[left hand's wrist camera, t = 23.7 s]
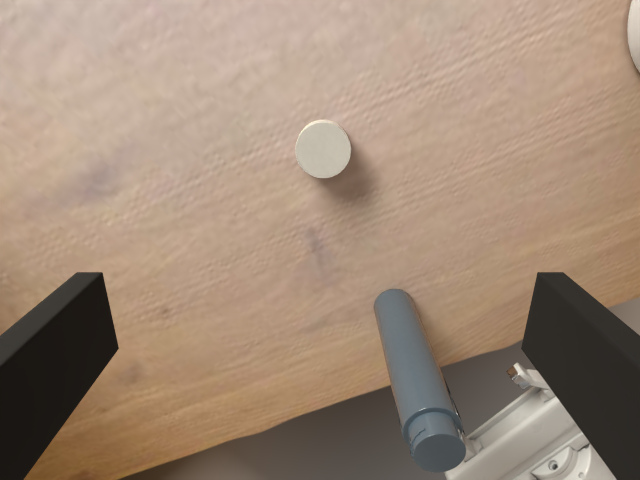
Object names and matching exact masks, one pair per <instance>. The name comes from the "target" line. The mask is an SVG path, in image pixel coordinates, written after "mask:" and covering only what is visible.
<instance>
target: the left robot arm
mask: <svg viewBox="0 0 640 480" xmlns="http://www.w3.org/2000/svg"><path fill="white" fill-rule="evenodd" d="M118 349H119V348H118V343H117V338H116V334H115V329H114V324H113V320H112V315H111V310H110V306H109V301H108V297H107V292H106V287H105V283H104V278H103V273H102V272H77V273H76V274H74V275H73V276H72V277H71V278H70V279H68V280H67V281H66V282H65V283H64V284H62V285H61V286H60V287H59V288H57V289H56V290H55V291H54V292H53V293H51V294H50V295H49V296H48V297H47V298H45V299H44V300H43V301H42V302H41V303H39V304H38V305H37V306H36V307H34V308H33V309H32V310H31V311H30V312H28V313H27V314H26V315H25V316H24V317H22V318H21V319H20V320H19V321H18V322H16V323H15V324H14V325H13V326H11V327H10V328H9V329H8V330H7V331H5V332H4V333H3V334H2V335H1V336H0V480H23V479H24V478H25V477H26V475H27V474H28V472H29V471H30V470H31V468H32V467H33V466H34V464H35V463H36V461H37V460H38V459H39V457H40V456H41V455H42V453H43V452H44V450H45V449H46V448H47V446H48V445H49V444H50V442H51V441H52V439H53V438H54V437H55V435H56V434H57V433H58V431H59V430H60V428H61V427H62V426H63V424H64V423H65V422H66V420H67V419H68V417H69V416H70V415H71V413H72V412H73V411H74V409H75V408H76V406H77V405H78V404H79V402H80V401H81V400H82V398H83V397H84V395H85V394H86V393H87V391H88V390H89V389H90V387H91V386H92V384H93V383H94V382H95V380H96V379H97V378H98V376H99V375H100V373H101V372H102V371H103V369H104V368H105V367H106V365H107V364H108V362H109V361H110V360H111V358H112V357H113V356H114V354H115V353H116V352H117V350H118ZM521 349H522V350H523V352H524V353H525V354H526V356H527V357H528V358H529V360H530V361H531V362H532V364H533V365H534V367H535V368H536V369H537V371H538V372H539V374H540V375H541V376H542V378H543V379H544V380H545V382H546V383H547V384H548V386H549V387H550V389H551V390H552V391H553V393H554V394H555V395H556V397H557V398H558V400H559V401H560V402H561V404H562V405H563V406H564V408H565V409H566V411H567V412H568V413H569V415H570V416H571V417H572V419H573V420H574V422H575V423H576V424H577V426H578V427H579V428H580V430H581V431H582V433H583V434H584V435H585V437H586V438H587V439H588V441H589V442H590V444H591V445H592V446H593V448H594V449H595V450H596V452H597V453H598V455H599V456H600V457H601V459H602V460H603V461H604V463H605V464H606V466H607V467H608V468H609V470H610V471H611V472H612V474H613V475H614V477H615V478H616V479H617V480H640V336H639V335H638V334H637V333H636V332H635V331H633V330H632V329H631V328H630V327H628V326H627V325H626V324H625V323H624V322H622V321H621V320H620V319H619V318H618V317H616V316H615V315H614V314H613V313H612V312H610V311H609V310H608V309H607V308H606V307H604V306H603V305H602V304H601V303H599V302H598V301H597V300H596V299H595V298H593V297H592V296H591V295H590V294H589V293H587V292H586V291H585V290H584V289H583V288H581V287H580V286H579V285H578V284H576V283H575V282H574V281H573V280H572V279H570V278H569V277H568V276H567V275H566V274H564V273H563V272H538V273H537V278H536V283H535V287H534V292H533V297H532V301H531V306H530V310H529V315H528V320H527V324H526V329H525V334H524V338H523V343H522V348H521Z"/></svg>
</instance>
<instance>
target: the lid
mask: <svg viewBox="0 0 640 480" xmlns="http://www.w3.org/2000/svg"><path fill="white" fill-rule="evenodd" d="M295 152H296V158H297V161H298V163H299V165H300V166H301V168H302V169H303V170H304V171H305V172H306V173H308V174H309V175H311V176H313V177H317V178H330V177H333V176H335V175H337V174H339V173H340V172H341V171H343V169H344V168H345V167H346V166H347V164H348V162H349V160H350V156H351V144H350V141H349V138H348V136H347V134H346V132H345V131H344V129H343V128H342V127H341V126H340V125H338V124H337V123H335V122H333V121H329V120H317V121H314V122H312V123H310V124H308V125H307V126H306V127H304V129H303V130H302V131H301V133H300V135H299V137H298V140H297V143H296V149H295Z"/></svg>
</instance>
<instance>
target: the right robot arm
mask: <svg viewBox="0 0 640 480" xmlns="http://www.w3.org/2000/svg"><path fill="white" fill-rule="evenodd" d="M627 37H628V46H629V51H630V54H631V57H632V60H633V62H634V64H635V66H636V68H637V70H638V71H639V73H640V0H632V2H631V6H630V10H629V16H628V24H627ZM507 373H508V374H509V375H510V378H511V379H512V381H513V382H514V383H516V384H518V385H519V387H520V388H522V389H523V390H524V389H525V388H527V387H528V386H529V385H530V386H532V387H531V388H530V389H529V390H527V391H526V392H525V393H523V394H522V395H521V396H519V397H518V398H517V399H515V400H514V401H513V402H511V403H510V404H509V405H507V406H506V407H505V408H504V409H502V410H501V411H500V412H498V413H497V414H496V415H494V416H493V417H492V418H490V419H489V420H488V421H486V422H485V423H484V424H482V425H481V426H480V427H478V428H477V429H476V430H475V431H473V432H472V433H471V434H469V435H468V436H467V437H465V436H464V435H465V433H464V431H462V434H461V436H462V439H463V441H464V444H465V446H466V455H465V458H464V460H463V461H462V462H461V463H460V464H459V465H458V466H457V467H455V468H453V469H451V470H449V471H446V472H444V473H445V476H446V479H447V480H617V479H616V478H615V477H614V475H613V474H612V472H611V471H610V470H609V468H608V467H607V466H606V464H605V463H604V461H603V460H602V459H601V457H600V456H599V455H598V453H597V452H596V450H595V449H594V448H593V446H592V445H591V444H590V442H589V441H588V439H587V438H586V437H585V435H584V434H583V433H582V431H581V430H580V428H579V427H578V426H577V424H576V423H575V422H574V420H573V419H572V417H571V416H570V415H569V413H568V412H567V411H566V409H565V408H564V406H563V405H562V404H561V402H560V401H559V400H558V398H557V397H556V395H555V394H554V393H553V391H552V390H551V389H550V387H549V386H548V384H547V383H546V382H545V380H544V379H543V378H542V376H541V375H540V374H539V372H538V371H537V370H530V369H528V370H526V369H525V368H524V367H523V366H521V365H520V364H519V363H516V364H515V365H513V366H512V367H511V368H510V369H509V370H507Z"/></svg>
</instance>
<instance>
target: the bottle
mask: <svg viewBox="0 0 640 480" xmlns="http://www.w3.org/2000/svg"><path fill="white" fill-rule="evenodd" d="M374 312H375V317H376V321H377V325H378V330H379V334H380V339H381V343H382V348H383V352H384V356H385V361H386V365H387V370H388V374H389V378H390V383H391V387H392V392H393V396H394V400H395V405H396V409H397V414H398V418H399V422H400V427H401V431H402V436H403V439H404V441H405V442H406V444H407V445H408V446H410V453H411V456H412V458H413V460H414V462H415V463H416V464H417V465H418V466H419V467H420V468H422V469H423V470H426V471H429V472H446V471H449V470H451V469H453V468H455V467H457V466H458V465H459V464H460V463H461V462H462V461H463V460H464V458H465V455H466V446H465V444H464V441H463V439H462V436H461V434H462V431H463V424H462V421H461V418H460V416H459V413H458V411H457V408H456V406H455V404H454V401H453V399H452V396H451V394H450V391H449V389H448V386H447V384H446V381H445V379H444V376H443V374H442V371H441V369H440V366H439V364H438V362H437V359H436V357H435V354H434V352H433V349H432V347H431V344H430V342H429V339H428V337H427V334H426V332H425V329H424V327H423V325H422V322H421V320H420V317H419V315H418V312H417V310H416V307H415V305H414V302H413V300H412V298H411V296H410V295H409V294H408V293H406V292H405V291H403V290H399V289H390V290H387V291H385V292H383V293H381V294H380V295H379V296H378V297H377V299H376V300H375V303H374Z"/></svg>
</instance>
